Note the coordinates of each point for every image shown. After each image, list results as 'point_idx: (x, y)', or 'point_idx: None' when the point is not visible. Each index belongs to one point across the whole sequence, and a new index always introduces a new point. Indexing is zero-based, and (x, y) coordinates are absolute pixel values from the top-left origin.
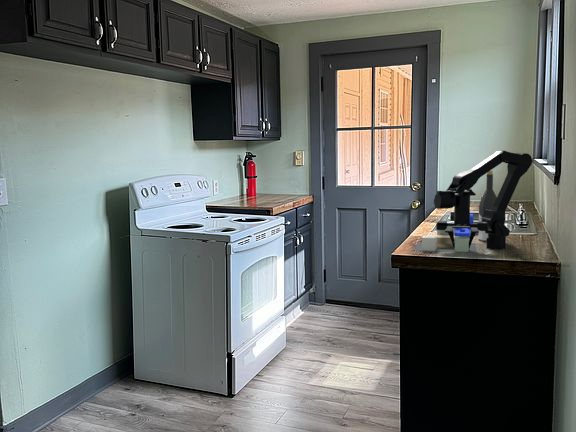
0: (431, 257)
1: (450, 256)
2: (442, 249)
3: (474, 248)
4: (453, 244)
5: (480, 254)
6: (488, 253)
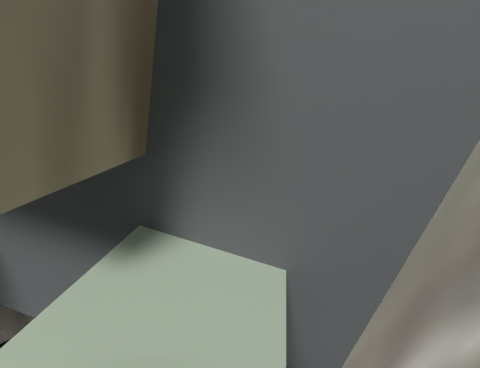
0: None
1: None
2: (25, 229)
3: (391, 236)
4: None
5: (359, 363)
6: (470, 348)
